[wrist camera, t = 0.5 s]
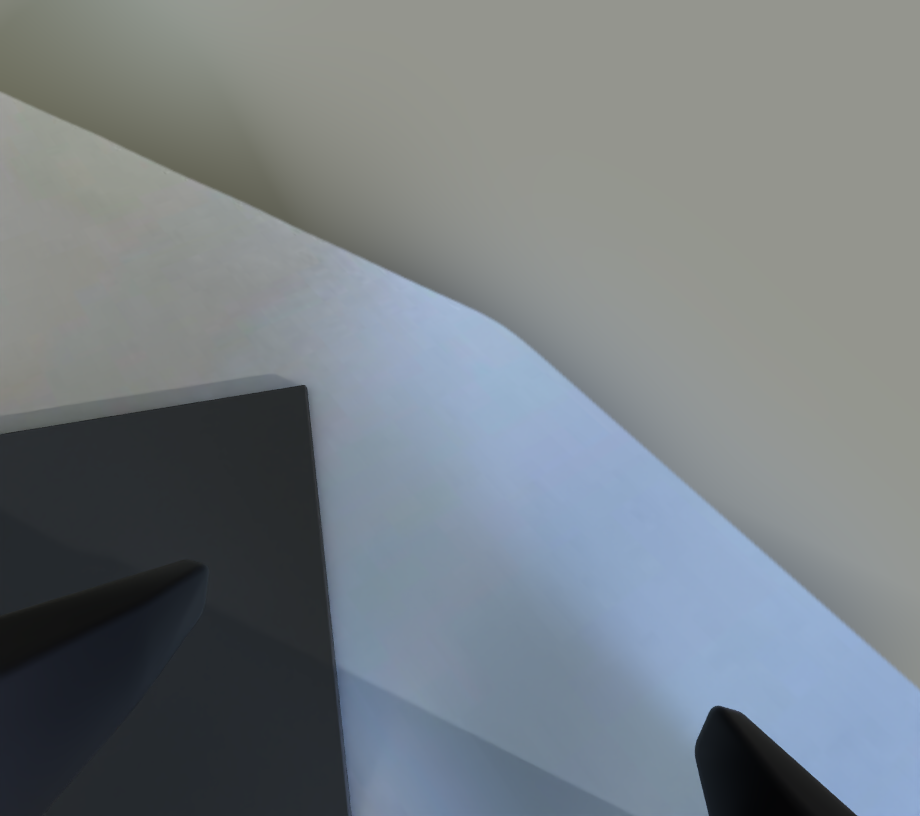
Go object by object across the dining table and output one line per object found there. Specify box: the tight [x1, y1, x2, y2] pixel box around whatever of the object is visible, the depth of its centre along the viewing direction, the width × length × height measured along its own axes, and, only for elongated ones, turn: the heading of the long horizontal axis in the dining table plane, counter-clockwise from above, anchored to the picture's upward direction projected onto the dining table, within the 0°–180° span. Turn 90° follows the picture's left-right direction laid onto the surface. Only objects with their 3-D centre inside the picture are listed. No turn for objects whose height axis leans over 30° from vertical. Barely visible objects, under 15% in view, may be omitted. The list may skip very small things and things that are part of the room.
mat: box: [0, 385, 351, 816], centre depth 21 cm, size 20×19×1 cm
